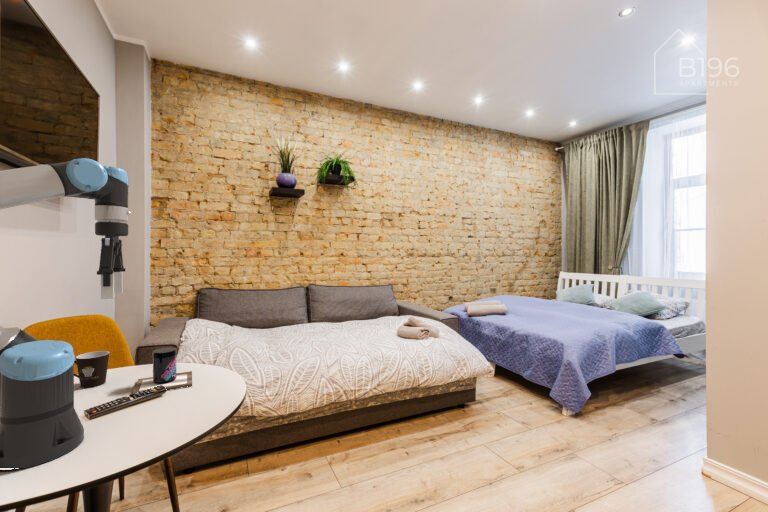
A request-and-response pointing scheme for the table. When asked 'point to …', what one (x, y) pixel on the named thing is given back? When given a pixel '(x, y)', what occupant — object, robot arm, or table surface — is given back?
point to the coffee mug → (92, 368)
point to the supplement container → (164, 365)
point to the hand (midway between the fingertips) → (112, 296)
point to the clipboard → (180, 381)
